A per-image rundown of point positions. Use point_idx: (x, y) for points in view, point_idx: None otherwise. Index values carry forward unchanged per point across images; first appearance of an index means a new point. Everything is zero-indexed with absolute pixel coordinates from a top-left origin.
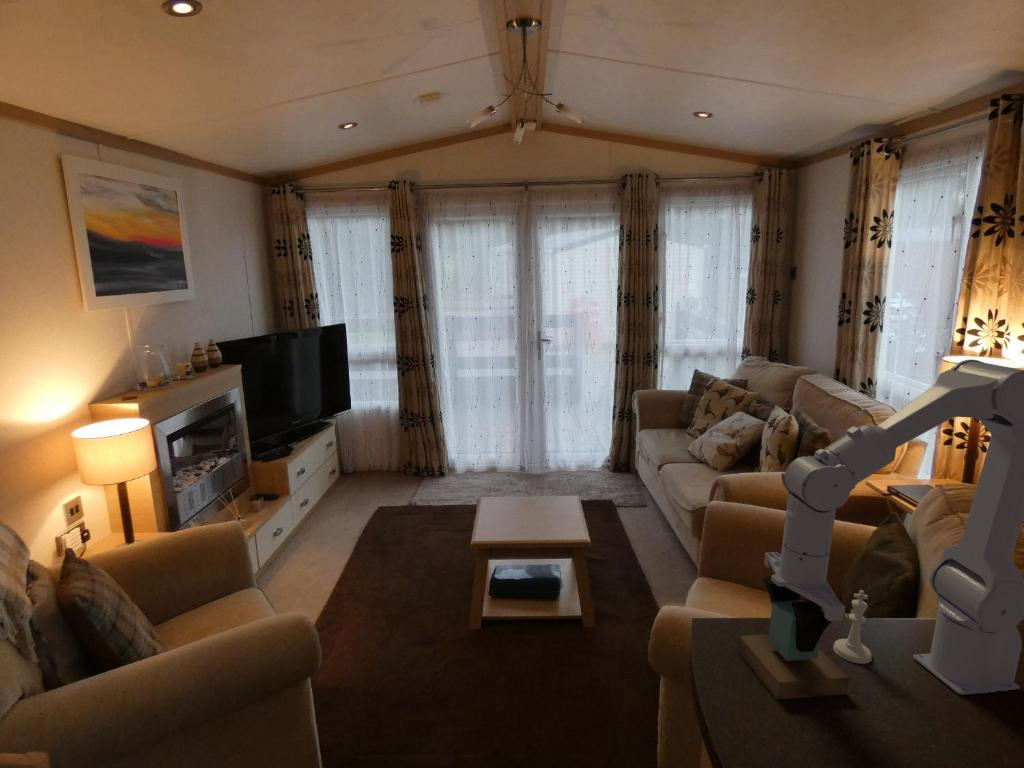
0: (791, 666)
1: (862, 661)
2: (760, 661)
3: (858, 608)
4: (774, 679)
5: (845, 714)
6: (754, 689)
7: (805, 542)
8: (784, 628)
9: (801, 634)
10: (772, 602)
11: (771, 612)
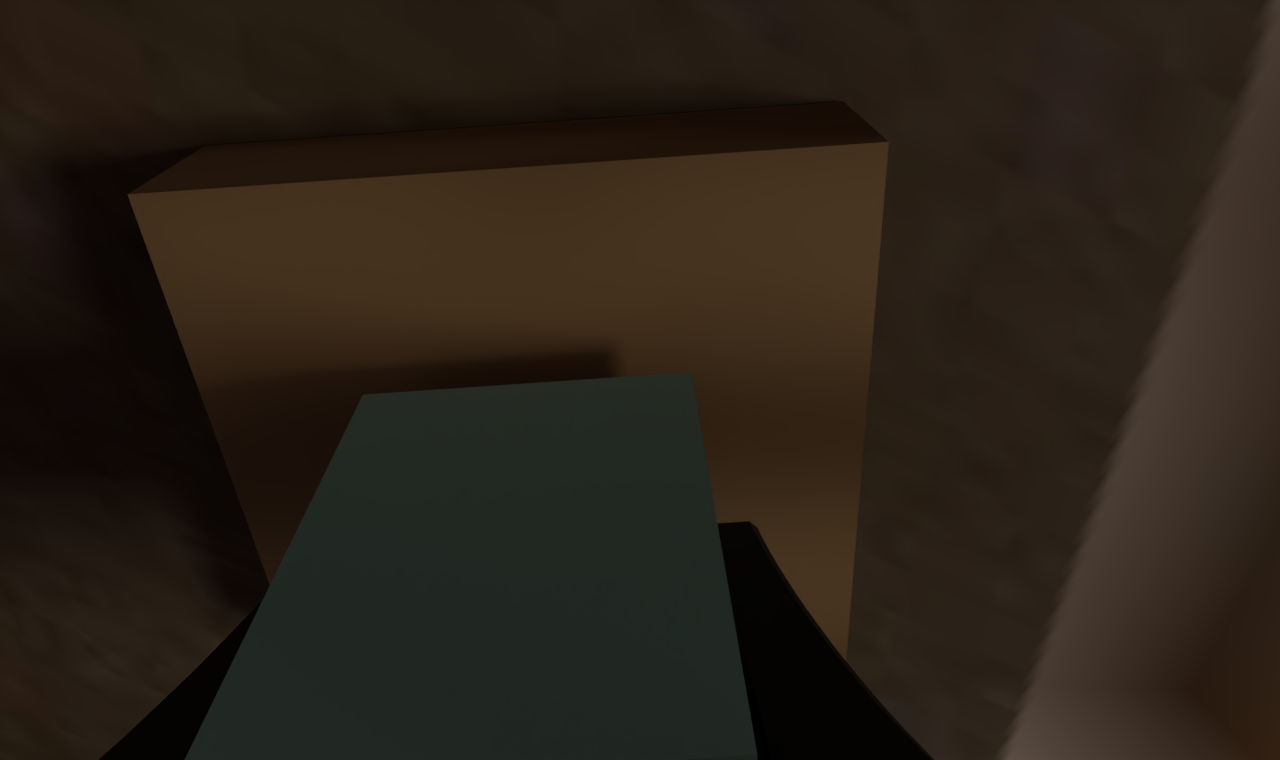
0: None
1: None
2: (460, 169)
3: None
4: (206, 181)
5: (151, 524)
6: (313, 5)
7: None
8: (389, 593)
9: (144, 721)
10: (850, 724)
11: (722, 601)
